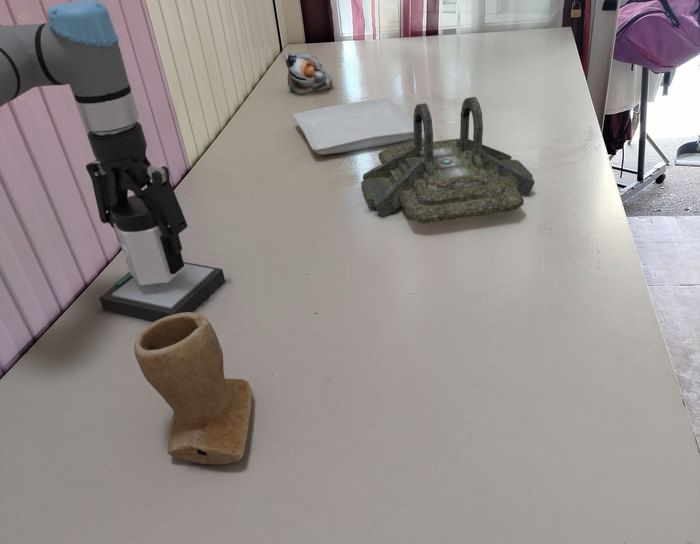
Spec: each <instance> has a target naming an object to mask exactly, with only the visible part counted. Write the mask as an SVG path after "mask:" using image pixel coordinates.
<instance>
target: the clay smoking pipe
mask: <svg viewBox="0 0 700 544" xmlns="http://www.w3.org/2000/svg"><path fill="white" fill-rule="evenodd" d="M133 349H134V350H133V351H134V357H135V359H136V361H137V364H138V366H139V368H140V371H141V373H142V374H143V377H144V378H145V380H146V381H147V382H148V383H149V384H150V386H152V388H153V389H154V390H155V391H156V392H157V393H158V394H159V395H160V396H161V397H162V399H163V400H164V401H165V402H166V403H167V405H168V406H169V407H170V408H171V410H172V412H173V416H172V422H171V429H170V436H169V441H168V445H167V454H168V455H169V456H171V457H175V458H178V459H181V460H184V461H187V462H193V463H196V464H197V463H198V464H200V465H201V464H202V465H207V464H210V465H225V464H226V465H228V464H233V463H236V462H239V461H241V459H243V457H244V454H245V450H246V444H247V441H248V433H249V425H250V419H251V413H252V397H253V396H252V395H253V394H252V393H253V392H252V387H251V385H250V382H249V381H247V380H245V379H242V378H241V379H240V378H225V370H224V353H223V349H222V347H221V344H220V341H219V338H218V336H217V333H216V331H215V329H214V327H213V325H212V323H211V322H210V320H208V318H207V317H206V316H204V315H203V314H200V313H197V312H194V311H193V312H185V313H178V314H174V315H170V316H167V317H164V318H161V319H159V320H157V321H155V322H152V323H150V324H149V325H147V326H146V327H145V328H143V329H142V330H141V331H140V332H139V333H138V334H137V336H136V339H135V341H134V345H133Z"/></svg>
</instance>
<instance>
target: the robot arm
mask: <svg viewBox="0 0 700 544" xmlns="http://www.w3.org/2000/svg"><path fill="white" fill-rule="evenodd" d="M46 15H47V20H48V21H47V22H44V23H33V24H32V23H31V24H29V23H28V24H11V25H2V24H0V108H2V107H3V106H4V105H6V104H8V103H10V102H12V101H14V100H15V99H17V98H18V97H20V96H22V95H23V94H25V93H27V92H28V91H30V90H32V89H34V88H39V87H50V86H51V87H52V86H67V85H69V86H70V89H71V92H72V94H73V96H74V99H75V103H76V106H77V110H78V112H79V115H80V118H81V121H82V122H81V123H82V125H83V128H84V129H85V130H87V131H88V132H87V139H88V141H89V144H90V149H91V151H92V153H93V156H94V157H95V158H96V159H94V160H93V161H91V162H89V163H87V164H86V165H85V170H86V171H87V173H88V175H89V177H90V180H91V183H92V188H93V192H94V193H93V194H94V197H95V203H96V206H97V210H98V211H97V212H98V215H99V220H100V222H101V223H102V224H109V225H110V227H111V228H112V229H114V232H115V235H116V238H117V241H118V243H119V245H120V246H121V244H120V242H119V239H118V236H117V233H116V230H115V227H114V221H113V218H112V214H111V208H112V206H113V205H116V206H117V205H119V204H120V203H122V202H124V201H125V200H127V197H129V196H128V195H129V194H128V193H129V192H128V191H131V192H133V194H134V195H136V197H137V198H140V199H141V200H142V201H143V203H144V205H145V206H146V208H147V209H148V210H150V211H152V212H153V214H154V218H155V221H156V223H157V225H158V227H159V228H160V230H161V231H162V233H163V235H162V236H161V237H160V239H161V243H162V246H163V250H164V253H165V256H166V260H167V263H168V266H169V270H170V273H171V274H175V273H177V272H178V271H179V270H180V269H181V268H183V267H184V262H185V261H184V258H183V255H182V250H183V245H182V243H181V242H182V241H181V239H180V233H182V232H183V231H184V230H186V229H187V228H188V223H187V220H186V218H185V215H184V212H183V210H182V208H181V205H180V203H179V201H178V198H177V196H176V193H175V191H174V188H173V185H172V183H171V179H170V178H171V177H170V170H169V168H168V167H167V166H165V165H163V166H161V167H156V166H153V165H152V164H151V162H150V161H149V159H148V157H147V148H148V143H147V140H146V136H145V133H144V130H143V129H144V128H143V126H142V124H141V123H140V122H139V121H138V120H139V119H140V116H139V113H138V110H137V106H136V102H135V98H134V94H133V91H132V88H131V85H130V81H129V78H128V74H127V69H126V67H125V62H124V59H123V55H122V52H121V47H120V44H119V43H120V40H119V36H118V35H117V33H116V30H115V27H114V24H113V22H112V18H111V16H110V13H109V10H108V8H107V6H106V5H105V4H104V3H103V2H101V1H99V0H76V1H67V2H63V3H58V4H55V5H52V6H50V7H48V9H47V12H46ZM168 225H169V227H168ZM180 251H181V252H180ZM182 258H183V259H182Z"/></svg>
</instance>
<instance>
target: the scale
mask: <svg viewBox="0 0 700 544" xmlns="http://www.w3.org/2000/svg"><path fill="white" fill-rule="evenodd" d="M183 262H184V265H185V269H184V270H182V271H181V272H180V273H179V274H178V275H176V276H175V277H174V278H173V279H172V280H170V281H169V282H166V283H157V284H148V285H140V284H139V283H138V282H137V281H136V280H135V279H134V277H133V276H132V275H131V274H130V271H128V272H127V273H125V274H124V275H123V276H121V277H120V278H119V279H118V280H116V281H115V282H114V283H113V284H114V285H113V286H112V287H111V288H109V289H108V290H107V291H106V292H104V293H103V294H102V295H100V296H98V299H99V302H100V304H101V307H102V310H103V311H105V312H110V313H114V314H118V315H123V316H127V317H132V318H137V319H141V320H144V321H149V322H152V323H154V322H155V321H157V320H159V319H161V318H164V317H167V316H170V315H174V314H178V313H185V312H193V313H194V311H195V310H197V308H199V307H200V306H201V305H202V304H203V303H204V302H205V301H206V300H207V299H208V298H209V297H210V296H212V295H213V293H215V292H216V291H217V290H218V289H219V288H220V287H221V286H222V285H223V284H224V283H225V282H226V279H225V275H224V270H223V268H219V267H214V266H208V265H202V264H197V263H192V262H187V261H183Z"/></svg>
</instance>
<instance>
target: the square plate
mask: <svg viewBox="0 0 700 544" xmlns="http://www.w3.org/2000/svg"><path fill="white" fill-rule="evenodd" d="M291 117H292V119H293V120H294V122H295V123H296V124H297V126H298V127H299V128H300V130H301V132H302V133H303V134H304V136H305V138H306V141H307V142H308V145H309V146H310V148H311V150H312V151H314V152H315V153H316V154H318V155H330V154H331V155H333V154H334V155H335V154H341V153H342V154H343V153H348V152H355V151H359V150H366V149H370V148H377V147H383V146H389V145H392V144H396V143H399V142H404V141H408V140H412V139H414V117H412V116H411V115H409V113H407V112H406V111H405V110H404V109H403V108H402V107H400V105H398V104H397V103H396V102H395V101H394V100H392V99H391V98H390V97H385V98H378V99H370V100H362V101H355V102H354V101H353V102H348V103H341V104H335V105H331V106H325V107H321V108H320V107H319V108H315V109H310V110H306V111H300V112H296V113H295V112H294V113H292V114H291ZM422 132H424V127H422Z"/></svg>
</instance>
